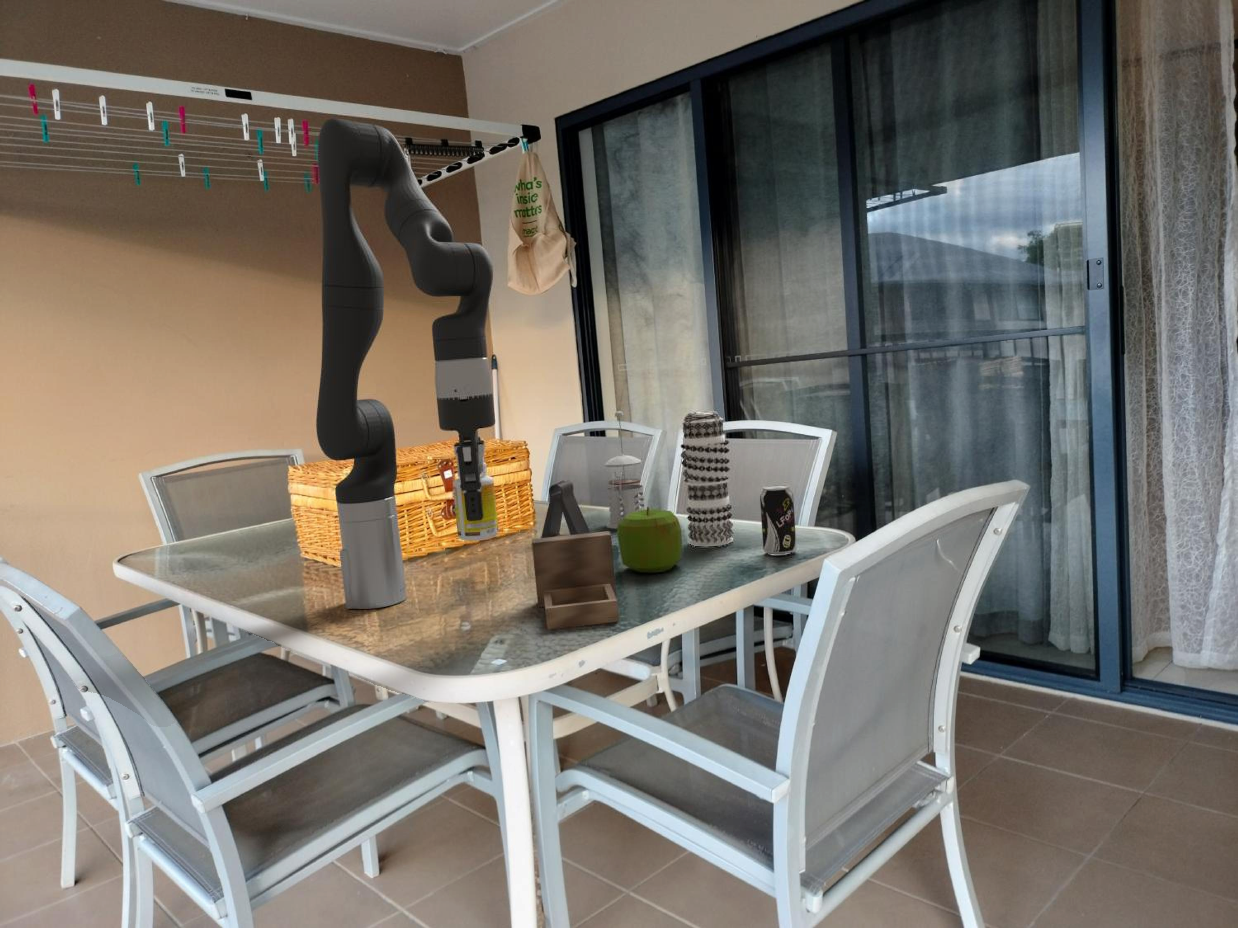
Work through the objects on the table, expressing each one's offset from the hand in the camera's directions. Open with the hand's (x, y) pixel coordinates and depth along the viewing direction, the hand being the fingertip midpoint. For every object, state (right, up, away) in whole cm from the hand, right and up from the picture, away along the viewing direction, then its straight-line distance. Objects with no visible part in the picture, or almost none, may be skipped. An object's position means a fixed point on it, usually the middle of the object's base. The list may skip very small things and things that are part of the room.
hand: (476, 515), depth 124 cm
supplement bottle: (0, -3, 0) cm, 3 cm away
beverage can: (+48, -9, +35) cm, 60 cm away
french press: (+21, -6, +74) cm, 77 cm away
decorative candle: (+37, -8, +49) cm, 62 cm away
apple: (+25, -11, +31) cm, 42 cm away
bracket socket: (+14, -15, +9) cm, 22 cm away
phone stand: (+9, -9, +64) cm, 65 cm away
